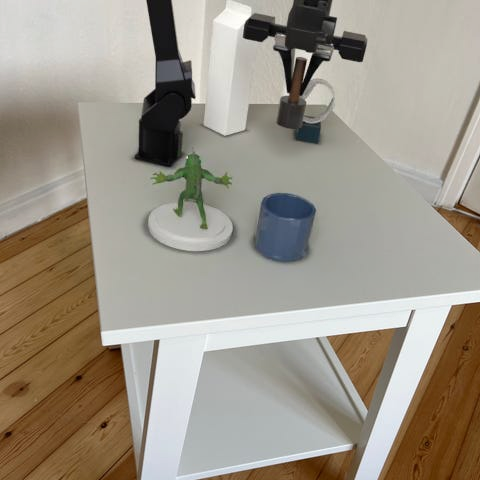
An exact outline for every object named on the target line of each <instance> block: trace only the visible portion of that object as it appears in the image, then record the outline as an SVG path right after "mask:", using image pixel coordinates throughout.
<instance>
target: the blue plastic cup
mask: <svg viewBox="0 0 480 480" xmlns="http://www.w3.org/2000/svg"><path fill="white" fill-rule="evenodd" d="M316 214H317V209H316V207H315V205H314V203H312V202H311V201H310V200H309V199H307V198H304V197H303V196H299V195H297V194H293V193H288V192H273V193H270V194H269V193H268V194H267V195H266V196H264V197H263V198H262V199H261V203H260V208H259V213H258V219H257V225H256V230H255V236H254V247H255V249H256V250H257V252H258V253H260V254H261V255H262V256H264V257H266V258H268V259H271V260H274V261H277V262H294V261H298V260H300V259H302V258H303V257H304V256H305V255H306V253H307V249H308V246H309V241H310V237H311V233H312V229H313V224H314V221H315V217H316Z"/></svg>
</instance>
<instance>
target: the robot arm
mask: <svg viewBox="0 0 480 480" xmlns="http://www.w3.org/2000/svg"><path fill="white" fill-rule="evenodd" d="M145 1H146V8H147V13H148V20H149V26H150V33H151V39H152V44H153V50H154V56H155V67H154V68H155V77H154V79H155V80H154V89H152V91H150V92H149V93H148V94H147V95H146V96H144V98H143V101H142V109H141V117H140V118H139V119H138V149H137V150H138V151H137V152H136V153H135V154H134V159H136V160H139V161H142V162H143V161H144V162H148V163H151V164H157V165H160V166H164V167H172V166H173V165H174V163H175V162H176V161H177V160H179V158H180V157H181V156H182V154H183V153H182V152H183V138H184V132H183V131H182V130H181V123H182V121H180V120H182V119H183V118H185V117H186V116H187V115H188V114H189V113H190V112H191V110H192V104H193V101H192V100H196V97H197V96H196V85H195V82H194V80H193V64H192V63H193V62H192V60H191V59H190V60H186V61H183V58H182V55H181V52H180V49H179V42H178V36H177V28H176V20H175V12H174V5H173V0H145ZM333 1H334V0H292V7H291V9H290V11H289V12H288V15H287V20H286V25H283V24H279V23H276V16H272V15H267V14H262V13H257V12H254V13H252V14H251V16H250V17H249V18H248V19H247V20H246V21H245V25H244V31H243V38H244V39H247V40H252V41H257V42H258V43H263V42H265V41H266V40H267V39H268V38H269V37H271V38H274V45H273V46H272V50H273V51H274V52H278V54H279V56H280V58H281V63H282V67H283V72H284V80H285V88H286V94H289V93H290V88H291V82H292V76H293V71H294V66H295V59H296V50H300V51H304V52H306V53H308V54H311V55H310V56H311V57H310V59H309V61H308V66H307V67H306V70H305V73H304V78H303V83H302V86H301V91H300V96H302V95H303V93H304V91H305V89H306V88H307V86H308V84H309V82H310V80H312V79H313V76H314V75H315V73H316V71H317V70H318V69H319V67H320V66H321V65H322V64H323V62H330V61H331V60H332V56H333V54H334V50H335V51H337V52H338V55H339V56H340V58H341V59H342V60H346V61H350V62H356V63H363V61H364V58H365V54H366V51H367V46H368V38H367V36H366V34H362V33H358V32H352V31H346V30H343V32H342V35H341V36H338V35H335V31H336V26H337V21H338V17H337V16H331V15H330V14H331V9H332V5H333Z"/></svg>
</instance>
